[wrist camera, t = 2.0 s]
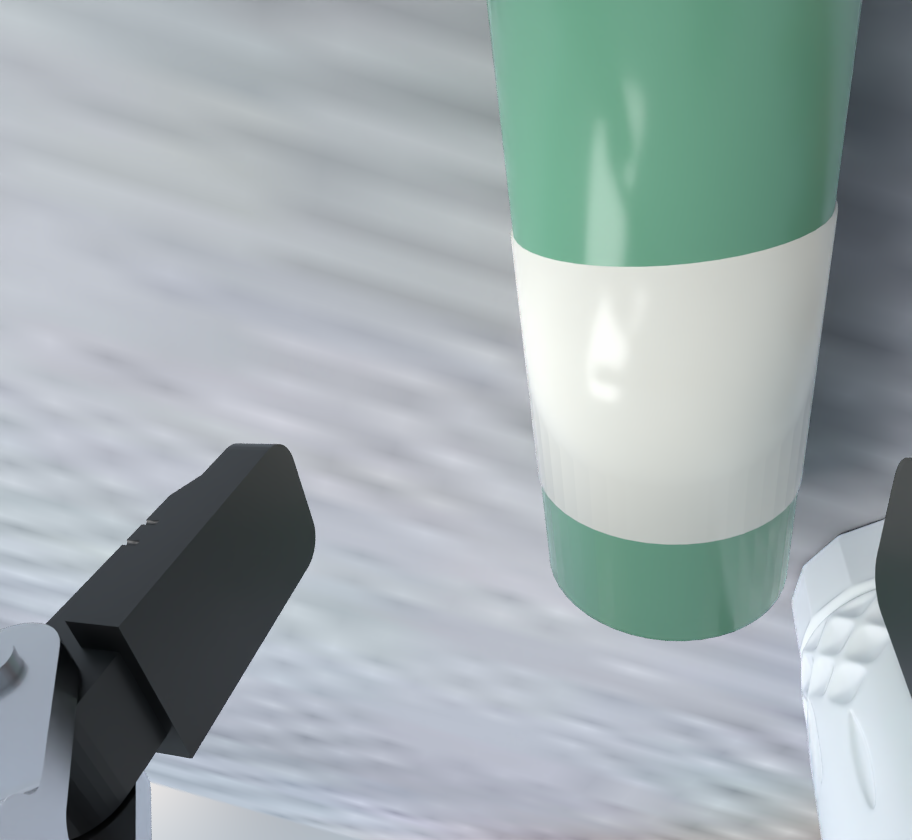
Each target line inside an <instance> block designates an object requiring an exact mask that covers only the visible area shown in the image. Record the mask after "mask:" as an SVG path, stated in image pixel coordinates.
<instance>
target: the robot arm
mask: <svg viewBox="0 0 912 840" xmlns="http://www.w3.org/2000/svg"><path fill="white" fill-rule="evenodd" d="M314 548H315V527H314V523H313V520H312V516H311V513H310V510H309V507H308V504H307V501H306V498H305V494H304V491H303V488H302V485H301V482H300V479H299V476H298V472H297V469H296V466H295V463H294V460H293V457H292V455H291V453H290V451H289V450H288V449H287V448H286V447H285V446H284V445H281V444H237V443H236V444H233V445H231V446H229V447H228V448H227V449H226V450H225V451H224V452H223V453H222V454H221V455H220V456H219V457H218V458H217V459H216V460H215V461H214V463H213V464H212V465H211V466H210V467H209V468H208V469H207V470H206V471H205V472H204V473H203V474H202V475H201V476H199V477H198V478H196V479H195V480H193V481H192V482H190V483H188V484H187V485H185V486H184V487H182V488H181V489H179V490H178V491H176V492H175V493H173V494H171V495H170V496H169V497H168V498H167V499H166V500H165V501H164V502H163V503H162V504H161V505H160V506H159V507H158V508H157V509H156V510H155V511H154V512H153V513H152V515H151V516H150V517H149V518H148V519H147V523H146V525H141V526H140V527H139V528H138V529H137V530H136V531H135V532H134V533H133V534H132V535H131V536H130V537H129V538H128V539H127V545H122V546H121V547H120V548H119V549H118V550H117V551H116V552H115V553H114V554H113V555H112V556H111V557H110V558H109V559H108V560H107V561H106V562H105V563H104V564H103V565H102V566H101V567H100V568H99V569H98V570H97V572H96V573H95V574H94V575H93V576H92V577H91V578H90V579H89V580H88V581H87V582H86V583H85V584H84V585H83V586H82V587H81V588H80V589H79V590H78V591H77V592H76V593H75V594H74V595H73V596H72V597H71V598H70V600H69V601H68V602H67V603H66V604H65V605H64V606H63V607H62V608H61V609H60V610H59V611H58V612H57V613H56V614H55V615H54V616H53V617H52V618H51V619H50V620H49V621H48V622H47V623H46V624H43V623H23V624H18V625H13V626H10V627H7V628H3V629H1V630H0V840H152V833H151V832H152V831H151V787H150V781H149V779H148V776H147V774H146V773H145V771H144V769H145V768H146V766H147V765H148V763H149V762H150V760H151V759H152V757H153V756H154V754H155V753H156V752H157V753H163V754H169V755H175V756H180V757H186V758H193V756H194V755H195V753H196V751H197V750H198V748H199V746H200V745H201V743H202V741H203V740H204V738H205V736H206V735H207V733H208V731H209V730H210V728H211V726H212V725H213V723H214V722H215V720H216V718H217V717H218V715H219V713H220V712H221V710H222V708H223V707H224V705H225V703H226V702H227V700H228V698H229V697H230V695H231V693H232V692H233V690H234V689H235V687H236V685H237V684H238V682H239V680H240V679H241V677H242V675H243V674H244V672H245V670H246V669H247V667H248V665H249V664H250V662H251V660H252V659H253V657H254V655H255V654H256V652H257V651H258V649H259V647H260V646H261V644H262V642H263V641H264V639H265V637H266V636H267V634H268V632H269V631H270V629H271V627H272V626H273V624H274V622H275V621H276V619H277V617H278V616H279V614H280V613H281V611H282V609H283V608H284V606H285V604H286V603H287V601H288V599H289V598H290V596H291V594H292V593H293V591H294V589H295V588H296V586H297V584H298V583H299V581H300V580H301V578H302V576H303V575H304V573H305V571H306V570H307V568H308V566H309V564H310V562H311V559H312V556H313V553H314ZM875 585H876V594H877V600H878V605H879V608H880V612H881V615H882V617H883V620H884V623H885V626H886V628H887V631H888V634H889V637H890V640H891V642H892V645H893V648H894V651H895V654H896V656H897V659H898V662H899V665H900V667H901V670H902V673H903V676H904V679H905V681H906V684H907V687H908V690H909V693H910V695H911V698H912V458H904V459H903V460H902V461H901V462H900V463H899V465H898V467H897V470H896V473H895V477H894V481H893V486H892V490H891V495H890V499H889V504H888V508H887V512H886V517H885V521H884V526H883V530H882V534H881V539H880V543H879V548H878V552H877V557H876V565H875Z"/></svg>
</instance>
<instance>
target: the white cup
mask: <svg viewBox="0 0 912 840" xmlns="http://www.w3.org/2000/svg"><path fill="white" fill-rule="evenodd" d="M884 521H885V519H884V520H881V521H878V522H875V523H872V524H870V525H867V526H864V527H861V528H858V529H855V530H853V531H850V532H847V533H844V534H841V535H839V536H837V537H836V538H835V539H834V540H832V541H831V542H830V543H829V544H828V545H827V546H826V547H824V548H823V549H822V550H821V551H820V552H819V553H817V554H816V555H815V556H814V557H813V558H812V559H811V560H809V561H808V562H807V563H806V564H805V565H804V566H803V567H802V570H801V573H800V576H799V579H798V583H797V586H796V589H795V592H794V595H793V598H792V610H793V616H794V622H795V628H796V634H797V640H798V646H799V652H800V658H801V693H802V701H803V708H804V714H805V720H806V725H807V741H808V750H809V758H810V766H811V773H812V780H813V787H814V793H815V800H816V807H817V813H818V820H819V827H820V833H821V840H912V698H911V695H910V693H909V690H908V687H907V684H906V681H905V679H904V676H903V673H902V670H901V667H900V665H899V662H898V659H897V656H896V654H895V651H894V648H893V645H892V642H891V640H890V637H889V634H888V631H887V628H886V626H885V623H884V620H883V617H882V615H881V612H880V608H879V605H878V600H877V594H876V585H875V565H876V557H877V552H878V548H879V543H880V539H881V534H882V530H883V526H884Z"/></svg>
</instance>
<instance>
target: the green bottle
mask: <svg viewBox="0 0 912 840" xmlns="http://www.w3.org/2000/svg"><path fill="white" fill-rule="evenodd" d="M861 7H862V0H487V9H488V17H489V26H490V35H491V44H492V53H493V62H494V70H495V79H496V88H497V97H498V106H499V114H500V123H501V132H502V141H503V150H504V159H505V167H506V176H507V185H508V194H509V203H510V212H511V220H512V229H511V232H510V233H511V242H512V251H513V259H514V268H515V277H516V285H517V294H518V303H519V311H520V320H521V329H522V337H523V346H524V355H525V364H526V372H527V381H528V390H529V398H530V407H531V416H532V424H533V433H534V442H535V450H536V459H537V468H538V476H539V480H540V482H541V485H542V494H543V503H544V512H545V521H546V530H547V538H548V547H549V556H550V564H551V569H552V572H553V575H554V577H555V579H556V581H557V583H558V585H559V587H560V588H561V590H562V591H563V592H564V594H565V595H566V596H567V597H568V598H569V599H570V600H571V601H572V602H573V603H574V604H575V605H576V606H577V607H578V608H579V609H581V610H582V611H583V612H584V613H586V614H587V615H589V616H590V617H592V618H594V619H595V620H597V621H599V622H600V623H602V624H605V625H607V626H609V627H611V628H613V629H616V630H619V631H622V632H625V633H628V634H631V635H635V636H639V637H644V638H649V639H657V640H665V641H691V640H702V639H707V638H713V637H718V636H721V635H725V634H728V633H731V632H734V631H736V630H738V629H741V628H743V627H745V626H747V625H749V624H751V623H752V622H754V621H755V620H757V619H758V618H760V617H761V616H762V615H763V614H765V613H766V612H767V611H768V610H769V609H770V608H771V607H772V606H773V604H774V603H775V602H776V601H777V599H778V598H779V596H780V594H781V592H782V590H783V588H784V584H785V581H786V577H787V570H788V562H789V554H790V547H791V539H792V532H793V524H794V516H795V509H796V501H797V494H798V491H799V488H800V485H801V481H802V475H803V468H804V460H805V453H806V445H807V438H808V430H809V423H810V415H811V408H812V400H813V393H814V386H815V378H816V371H817V363H818V356H819V348H820V341H821V333H822V326H823V318H824V311H825V303H826V296H827V289H828V281H829V274H830V266H831V259H832V251H833V244H834V236H835V229H836V221H837V214H838V203H837V201H836V197H837V190H838V182H839V175H840V167H841V159H842V152H843V144H844V137H845V129H846V121H847V114H848V106H849V99H850V91H851V83H852V76H853V68H854V61H855V53H856V45H857V38H858V30H859V23H860V15H861Z"/></svg>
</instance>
